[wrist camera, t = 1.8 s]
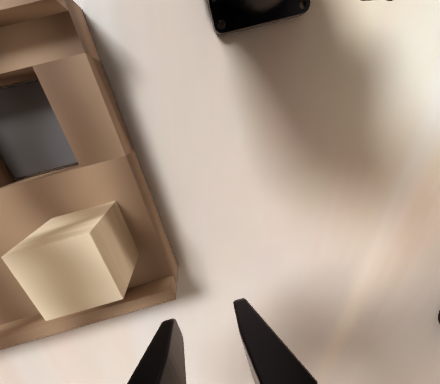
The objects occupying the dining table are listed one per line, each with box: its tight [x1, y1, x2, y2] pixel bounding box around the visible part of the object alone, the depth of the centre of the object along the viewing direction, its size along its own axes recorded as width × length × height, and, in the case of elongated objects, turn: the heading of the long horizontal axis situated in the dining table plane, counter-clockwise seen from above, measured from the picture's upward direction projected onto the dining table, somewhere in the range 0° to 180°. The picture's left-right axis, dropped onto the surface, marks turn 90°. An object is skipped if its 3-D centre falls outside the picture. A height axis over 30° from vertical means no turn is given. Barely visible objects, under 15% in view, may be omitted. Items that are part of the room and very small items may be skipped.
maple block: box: [1, 201, 139, 321], centre depth 14 cm, size 4×4×4 cm
